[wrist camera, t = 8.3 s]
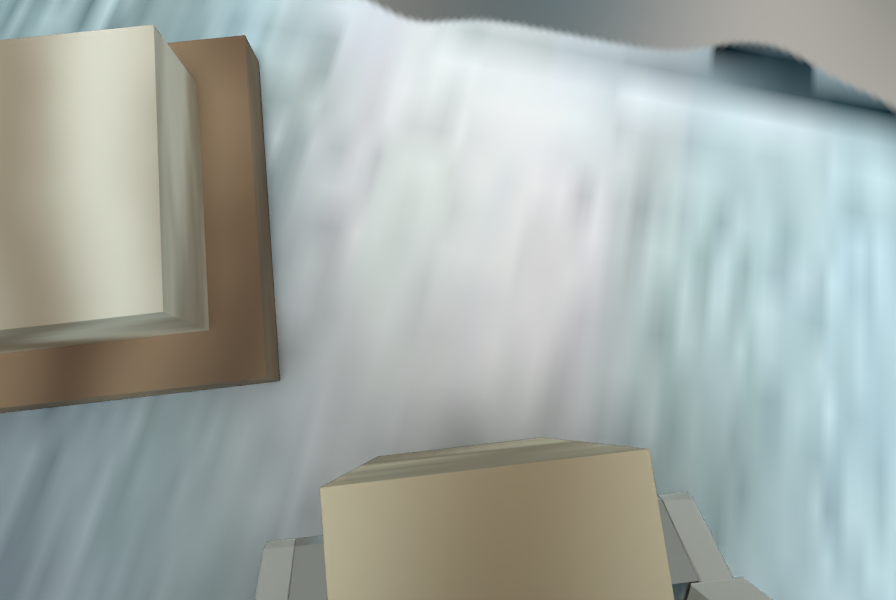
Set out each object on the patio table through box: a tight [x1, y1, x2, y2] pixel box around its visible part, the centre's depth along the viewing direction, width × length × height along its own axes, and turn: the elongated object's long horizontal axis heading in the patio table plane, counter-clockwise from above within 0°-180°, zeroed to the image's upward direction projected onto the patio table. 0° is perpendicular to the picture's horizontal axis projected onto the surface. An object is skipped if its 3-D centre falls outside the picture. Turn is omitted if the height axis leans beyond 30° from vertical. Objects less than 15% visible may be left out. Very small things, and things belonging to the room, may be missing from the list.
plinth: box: [0, 25, 280, 413], centre depth 24 cm, size 14×14×6 cm
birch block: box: [320, 438, 674, 600], centre depth 11 cm, size 4×4×8 cm
